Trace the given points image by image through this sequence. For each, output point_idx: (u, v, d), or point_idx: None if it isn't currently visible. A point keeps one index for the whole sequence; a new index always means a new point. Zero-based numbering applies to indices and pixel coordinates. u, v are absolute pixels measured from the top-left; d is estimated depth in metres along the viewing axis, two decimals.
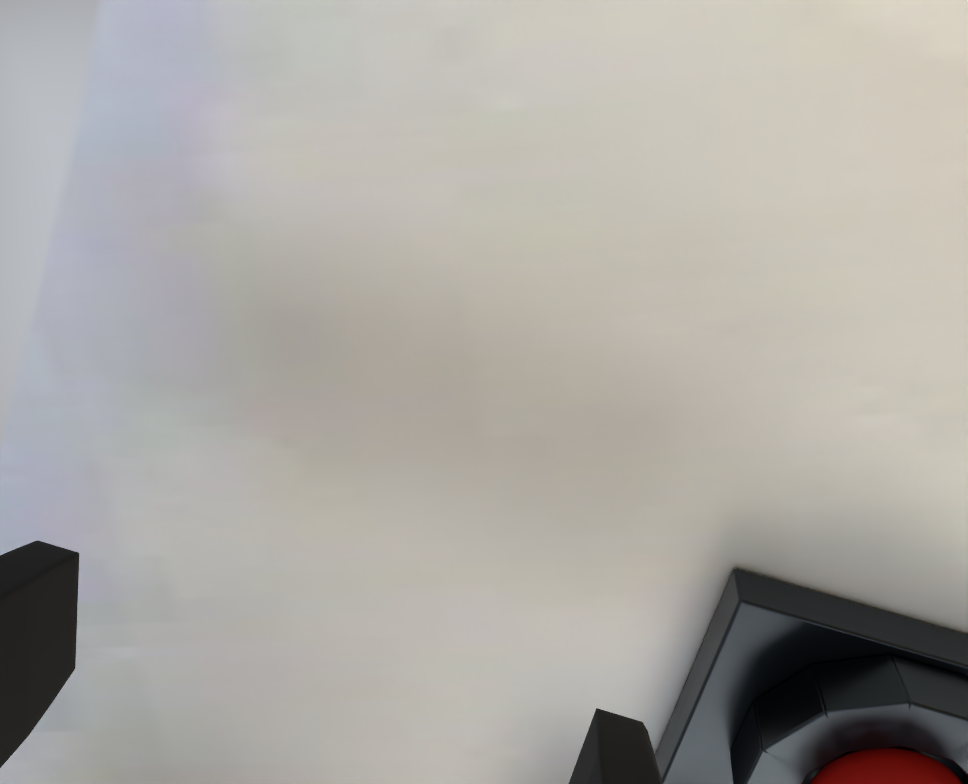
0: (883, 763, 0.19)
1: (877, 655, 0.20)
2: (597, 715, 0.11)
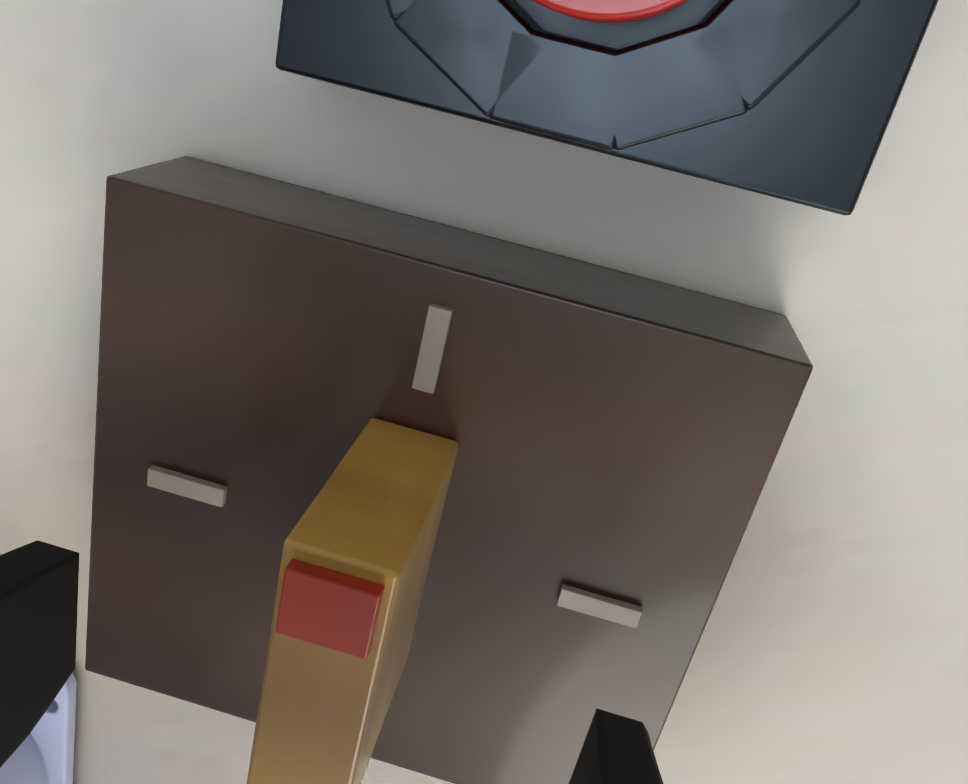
0: None
1: None
2: (598, 716, 0.11)
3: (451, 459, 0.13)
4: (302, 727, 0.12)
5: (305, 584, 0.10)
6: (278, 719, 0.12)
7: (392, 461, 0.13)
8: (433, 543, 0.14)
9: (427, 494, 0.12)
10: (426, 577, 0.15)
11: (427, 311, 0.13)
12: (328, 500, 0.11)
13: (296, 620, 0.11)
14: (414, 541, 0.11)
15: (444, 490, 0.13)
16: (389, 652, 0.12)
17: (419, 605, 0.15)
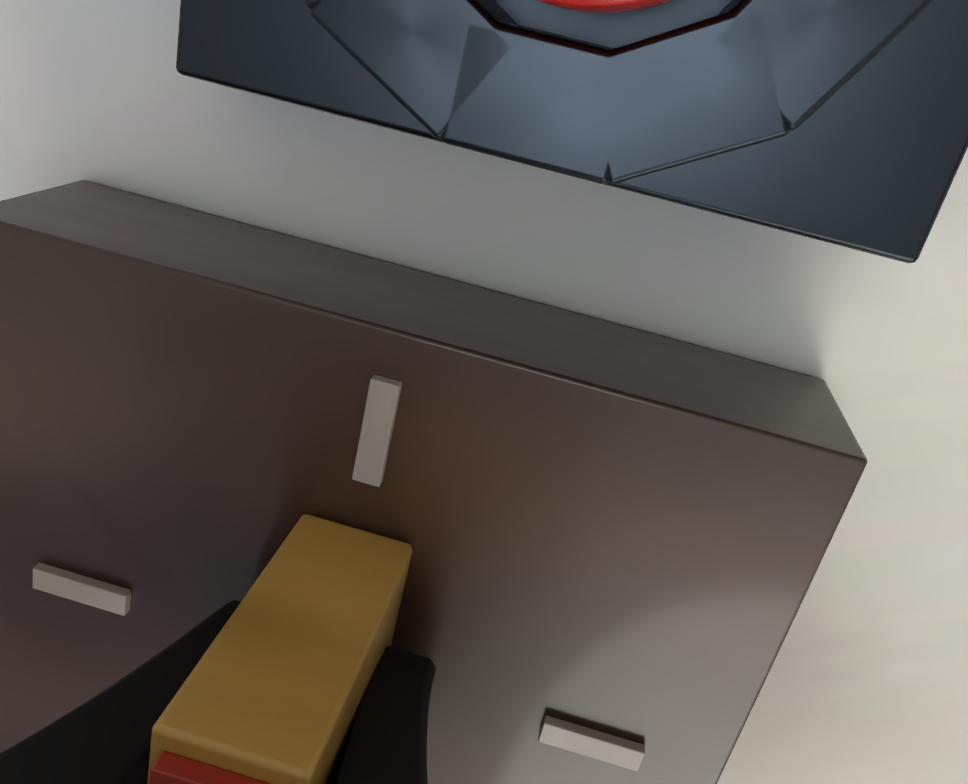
0: None
1: None
2: None
3: (401, 572, 0.10)
4: None
5: None
6: None
7: (322, 581, 0.10)
8: None
9: (363, 632, 0.09)
10: None
11: (369, 385, 0.10)
12: (226, 651, 0.09)
13: None
14: (337, 713, 0.08)
15: (393, 610, 0.11)
16: None
17: None
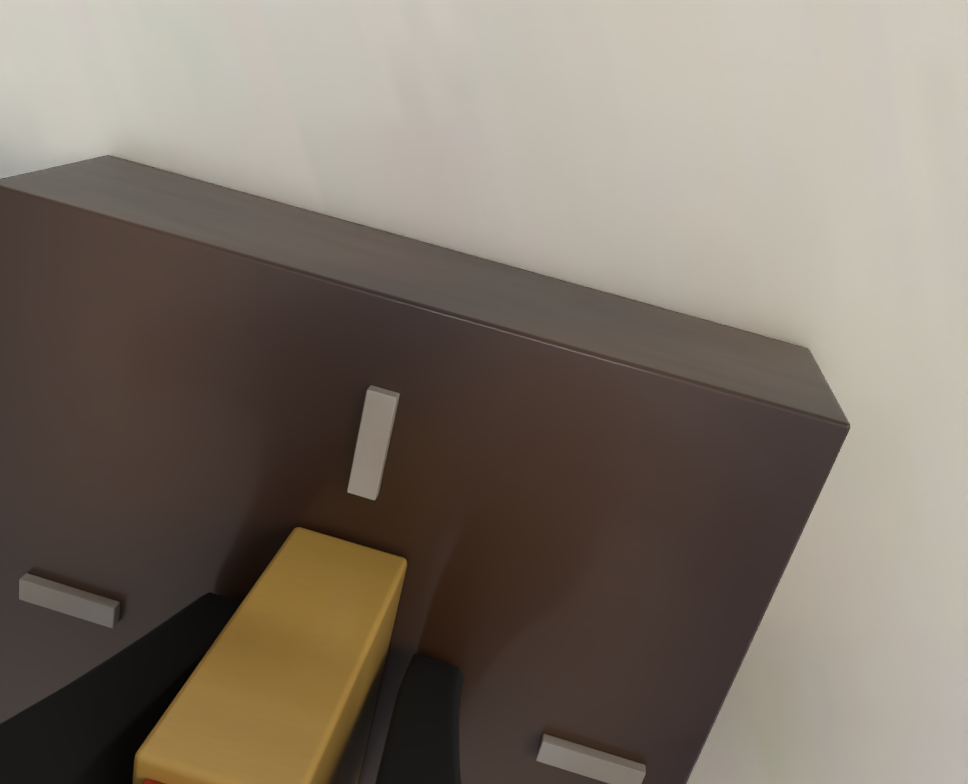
0: None
1: None
2: (412, 659, 0.11)
3: (395, 587, 0.10)
4: None
5: None
6: None
7: (313, 597, 0.10)
8: (377, 684, 0.11)
9: (355, 651, 0.09)
10: (371, 720, 0.12)
11: (32, 598, 0.12)
12: (213, 672, 0.08)
13: None
14: (327, 737, 0.08)
15: (387, 626, 0.10)
16: None
17: (363, 754, 0.12)
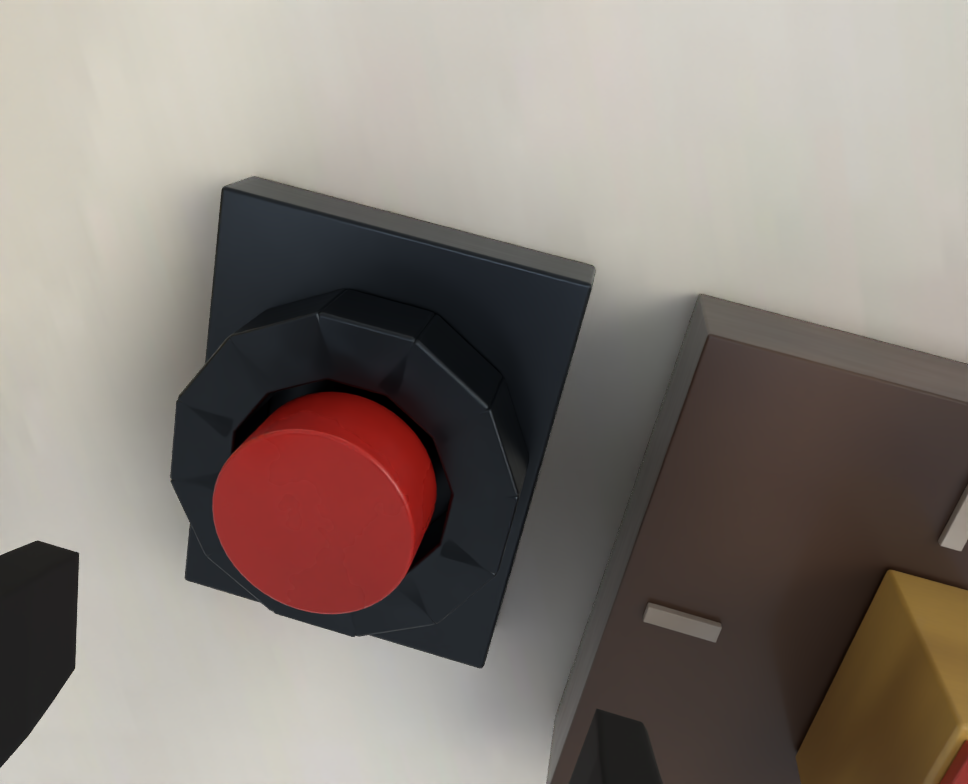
0: None
1: None
2: (598, 715, 0.11)
3: None
4: None
5: None
6: None
7: (950, 621, 0.14)
8: None
9: None
10: None
11: (649, 621, 0.16)
12: (949, 673, 0.13)
13: None
14: None
15: None
16: None
17: None
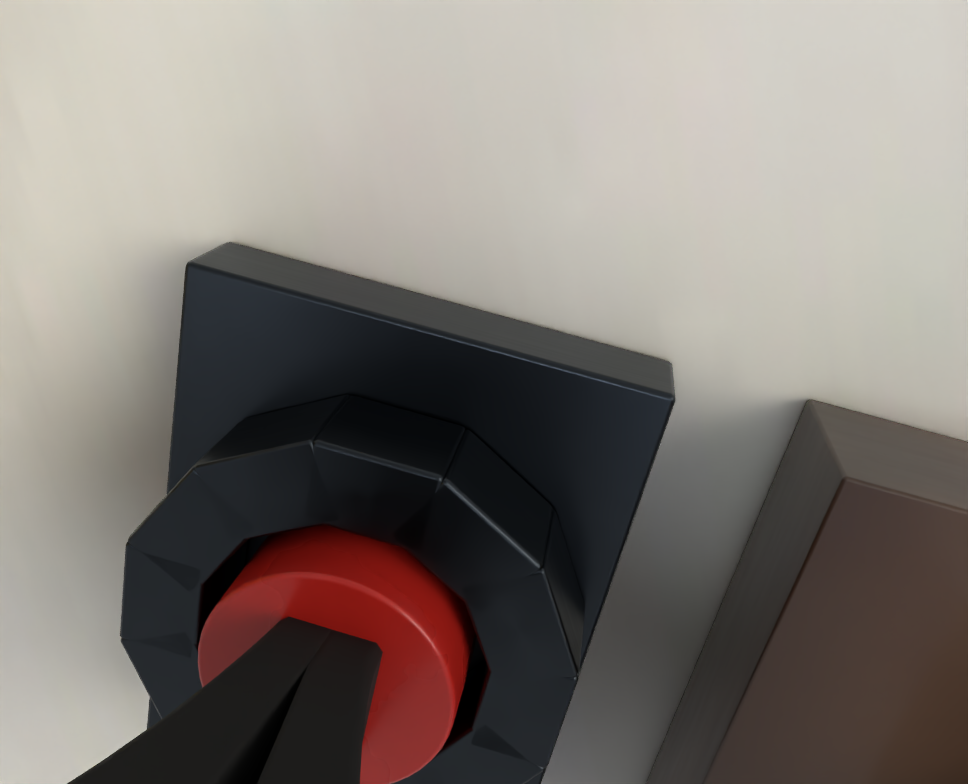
0: None
1: None
2: (329, 634, 0.11)
3: None
4: None
5: None
6: None
7: None
8: None
9: None
10: None
11: None
12: None
13: None
14: None
15: None
16: None
17: None
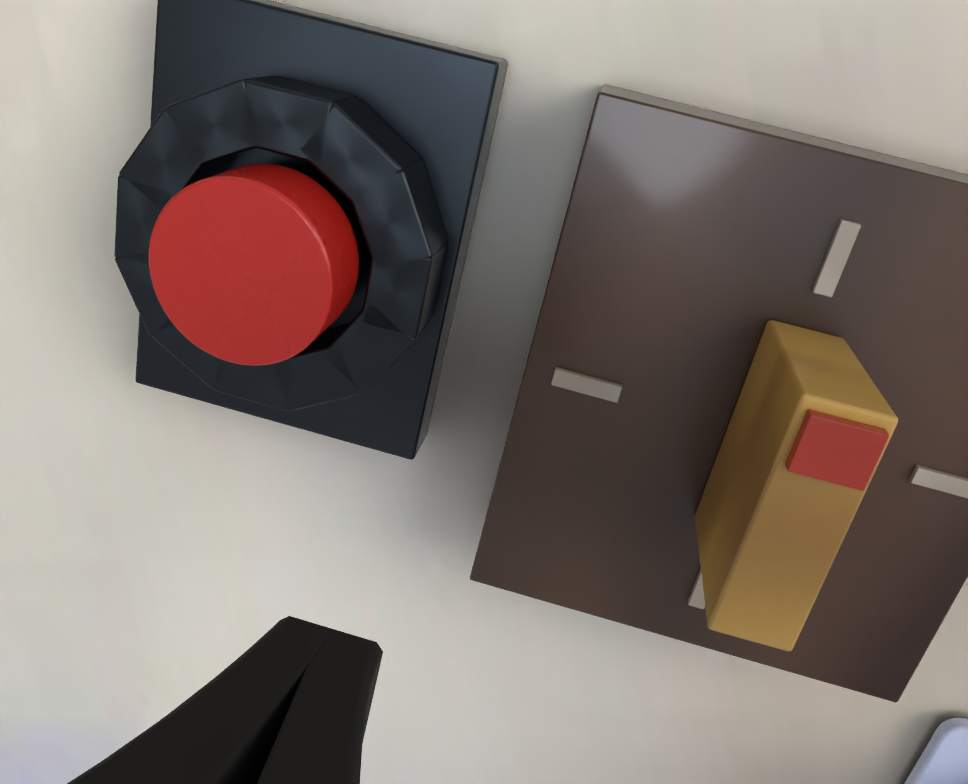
0: None
1: None
2: (329, 634, 0.11)
3: (850, 350, 0.16)
4: (780, 558, 0.14)
5: (824, 428, 0.13)
6: (759, 552, 0.14)
7: (816, 348, 0.15)
8: None
9: (862, 371, 0.15)
10: None
11: (557, 385, 0.18)
12: (803, 371, 0.14)
13: (809, 459, 0.13)
14: (885, 400, 0.14)
15: None
16: None
17: None
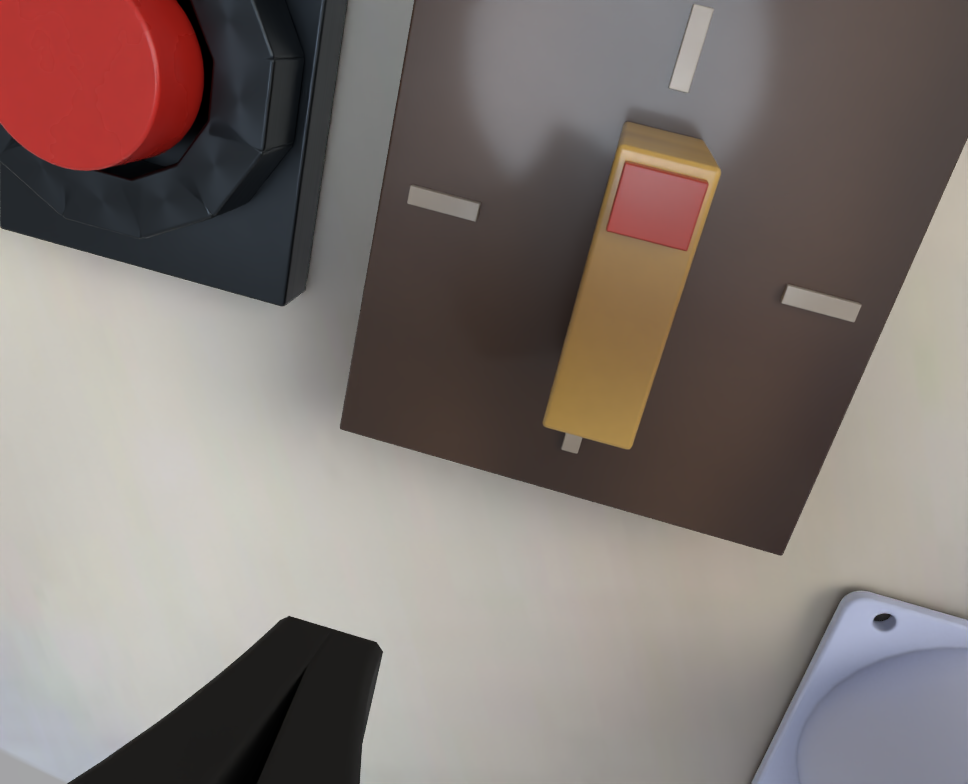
0: None
1: None
2: (328, 634, 0.11)
3: None
4: (610, 339, 0.13)
5: (640, 178, 0.12)
6: (588, 333, 0.13)
7: (663, 136, 0.14)
8: None
9: (705, 150, 0.14)
10: None
11: (414, 205, 0.17)
12: (634, 138, 0.13)
13: (627, 216, 0.12)
14: (716, 163, 0.13)
15: None
16: None
17: None
